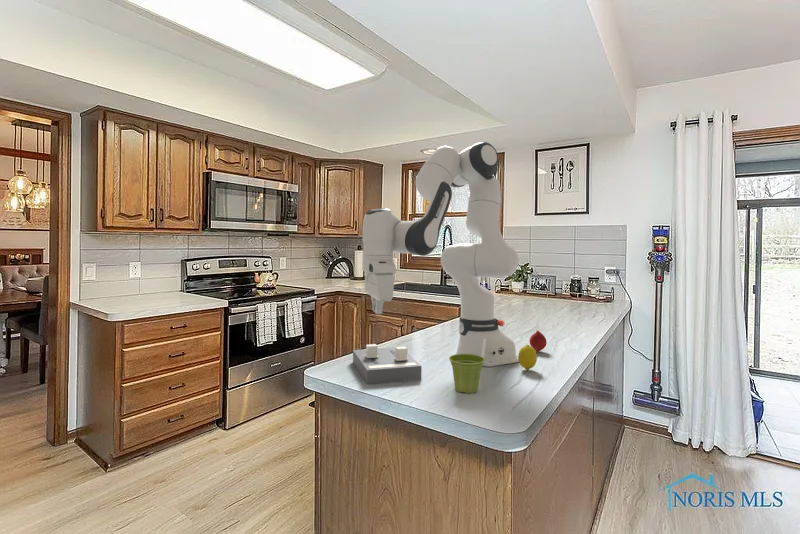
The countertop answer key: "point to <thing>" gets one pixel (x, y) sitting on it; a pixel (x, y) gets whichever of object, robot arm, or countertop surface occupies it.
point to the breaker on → (401, 354)
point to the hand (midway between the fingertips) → (377, 312)
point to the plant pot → (466, 371)
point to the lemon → (527, 357)
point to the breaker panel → (386, 367)
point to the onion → (538, 341)
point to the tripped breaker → (371, 351)
